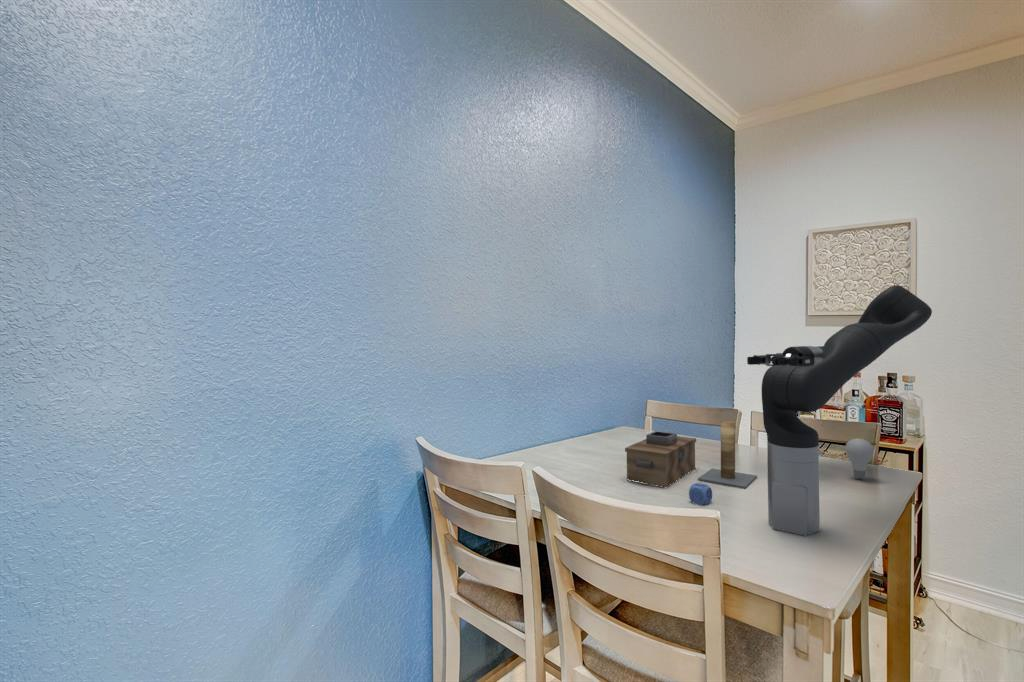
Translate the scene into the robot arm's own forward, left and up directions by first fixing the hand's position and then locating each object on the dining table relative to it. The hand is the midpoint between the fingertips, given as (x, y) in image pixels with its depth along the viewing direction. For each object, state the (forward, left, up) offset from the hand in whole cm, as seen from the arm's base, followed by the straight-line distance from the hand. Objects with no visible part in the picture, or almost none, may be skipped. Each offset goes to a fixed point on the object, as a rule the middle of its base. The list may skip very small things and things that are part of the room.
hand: (760, 361), depth 133 cm
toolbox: (-13, +23, -32) cm, 42 cm away
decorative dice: (-29, +7, -32) cm, 44 cm away
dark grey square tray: (-13, +23, -23) cm, 35 cm away
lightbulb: (+13, -21, -32) cm, 40 cm away
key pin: (-7, +7, -31) cm, 33 cm away
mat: (-7, +7, -32) cm, 34 cm away
